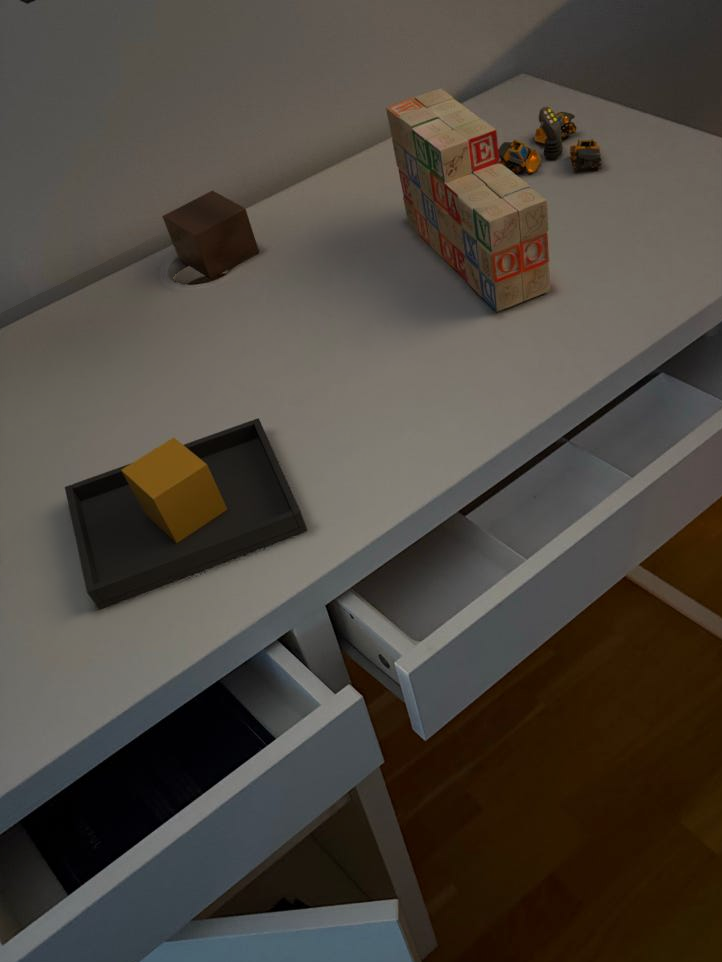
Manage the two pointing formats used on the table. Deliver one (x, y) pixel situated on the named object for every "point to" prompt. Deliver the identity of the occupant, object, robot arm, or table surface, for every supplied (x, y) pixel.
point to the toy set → (551, 145)
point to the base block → (211, 234)
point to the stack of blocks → (470, 199)
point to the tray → (160, 560)
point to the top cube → (175, 489)
